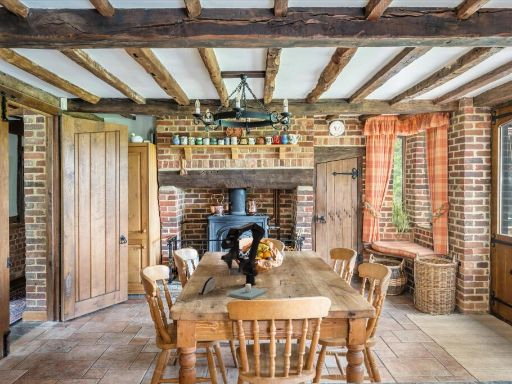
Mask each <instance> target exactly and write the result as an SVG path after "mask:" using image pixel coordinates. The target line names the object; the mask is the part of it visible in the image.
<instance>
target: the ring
mask: <svg viewBox="0 0 512 384" xmlns="http://www.w3.org/2000/svg"><path fill="white" fill-rule="evenodd" d="M228 273H229V275H231V276H238V275H241V274H242V272H241V273H239V267H232V268H230V269H229V268H228Z"/></svg>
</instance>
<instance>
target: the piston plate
mask: <svg viewBox="0 0 512 384" xmlns="http://www.w3.org/2000/svg"><path fill="white" fill-rule="evenodd" d="M244 284H245V283H244ZM267 293H268V290H267V289H260V288H254V287H252V286H251V284H245V285H244V287H242V288H239V289H237V290H234V291H232V292H229V293H228V297H231V296H232V298H238V299H242V300H243V299H244V300H248V299H252V300H254V299H257V298H258V297H261V296H263V295H265V294H267ZM256 297H257V298H256Z"/></svg>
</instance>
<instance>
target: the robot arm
mask: <svg viewBox="0 0 512 384" xmlns="http://www.w3.org/2000/svg"><path fill="white" fill-rule="evenodd" d="M249 231H250V232H251V237H252V241H251V244H250V245H251V246H250V249H249V253H248V256H242V255H240V251H242V250H241V248H240V241H241V240H242V238H241V236H242V235H243V233H246V232H249ZM265 234H266V230H265V228H264V227H263V226H261V225H259V224H258V223H257V222H254V221H250V222H248V223H246V224H243V225H240V226H236V227H235V226H234V227H230V228H229V229H228V231H227V233H226V236H225V238H223V239H222V241H221V243H220V247H221V249H222V250H228V252H227V253H225V254H223V255H221V256H220V261H223V262H224V263H225V264H226V265H227V268H228V270H229V269H230V268H233V261H239V262H237V265H238V268H239V273H241V274H242V273H243V274H242V275H243V276H245V283H244V284H243V285H244V286H245V284H251V287H253V286H255V285H257V284H258V283H257V282H256V277H257V276H258V274H259V271H258V270H257V269H256V267H257V265H256V263H255V262H256V261H255V260H256V257H257V254H258V250H259V246H260V241H262V240H263V239H264V236H265Z"/></svg>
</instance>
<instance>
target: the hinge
mask: <svg viewBox="0 0 512 384" xmlns="http://www.w3.org/2000/svg"><path fill="white" fill-rule="evenodd" d="M216 281H217V278H216V277H213V276H212V275H211V276H208V277H206V278H205V279H204V280H203V282H202V284H201V287H200V289H199V290H198V291H197V292H196V293H197V295H199V294H202V295H203V296H205V295H207V294H208V293H209V292H210V291H212V290H213V289H214V288H215V286H216V283H217V282H216Z"/></svg>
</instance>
